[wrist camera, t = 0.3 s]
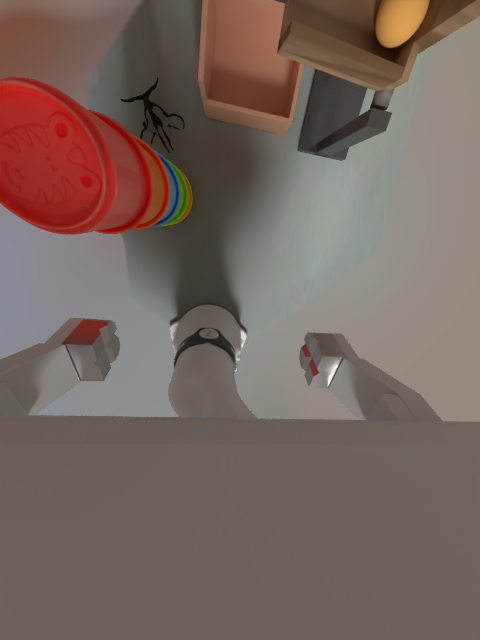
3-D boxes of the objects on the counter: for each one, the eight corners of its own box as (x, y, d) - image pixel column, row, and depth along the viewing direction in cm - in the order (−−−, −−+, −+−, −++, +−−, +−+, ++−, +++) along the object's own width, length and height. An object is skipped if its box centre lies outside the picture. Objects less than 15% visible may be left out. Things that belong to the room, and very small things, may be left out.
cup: (282, 135, 39) (307, 106, 28) (205, 117, 37) (197, 79, 26) (300, 42, 34) (340, -40, 23) (213, 17, 32) (207, -86, 21)
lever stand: (341, 160, 41) (408, 136, 26) (297, 151, 40) (341, 120, 25) (375, 47, 35) (491, -72, 20) (324, 32, 34) (405, -106, 19)
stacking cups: (141, 151, 39) (-168, -43, 8) (199, 176, 41) (128, 97, 10) (132, 213, 43) (-94, 239, 12) (185, 232, 45) (105, 296, 15)
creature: (192, 140, 40) (166, 78, 35) (191, 141, 35) (162, 71, 30) (153, 161, 41) (122, 104, 36) (148, 164, 36) (112, 100, 31)
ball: (395, 62, 23) (426, 36, 20) (359, 51, 23) (385, 23, 19) (415, 3, 21) (453, -37, 18) (377, -10, 21) (409, -53, 17)
